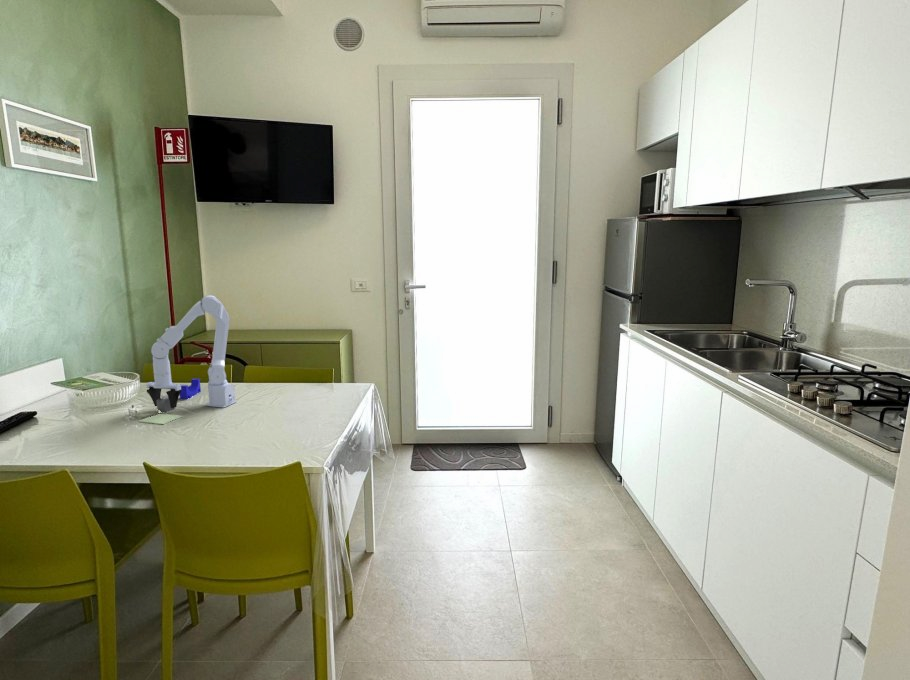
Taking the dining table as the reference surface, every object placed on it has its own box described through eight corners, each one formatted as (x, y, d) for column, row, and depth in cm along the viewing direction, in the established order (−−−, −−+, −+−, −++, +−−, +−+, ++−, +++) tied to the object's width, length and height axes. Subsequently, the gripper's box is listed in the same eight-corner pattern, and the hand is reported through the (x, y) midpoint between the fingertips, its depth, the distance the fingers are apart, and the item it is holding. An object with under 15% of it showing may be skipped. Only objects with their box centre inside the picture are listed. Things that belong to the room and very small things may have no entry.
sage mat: (181, 416, 201) (181, 415, 201) (163, 424, 193) (163, 423, 193) (158, 414, 204) (157, 413, 204) (138, 421, 196) (138, 420, 196)
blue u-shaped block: (190, 392, 235) (189, 378, 234) (200, 392, 235) (199, 378, 234) (176, 400, 223) (175, 386, 222) (187, 400, 223) (186, 386, 222)
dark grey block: (176, 408, 212) (174, 392, 210) (162, 413, 205) (160, 397, 204) (169, 407, 212) (168, 392, 211) (155, 413, 206) (154, 397, 205)
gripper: (138, 374, 204) (142, 408, 206) (169, 376, 200) (173, 411, 203) (153, 369, 211) (156, 402, 213) (183, 372, 207) (187, 405, 209)
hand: (165, 406), depth 208 cm, fingers open, 7 cm apart
